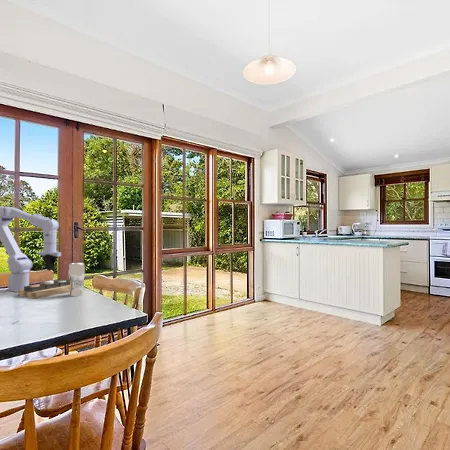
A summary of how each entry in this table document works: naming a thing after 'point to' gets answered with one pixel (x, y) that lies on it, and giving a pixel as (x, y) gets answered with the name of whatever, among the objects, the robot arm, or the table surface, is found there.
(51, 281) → the button grey
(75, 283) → the beer glass
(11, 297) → the table surface
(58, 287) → the button panel
